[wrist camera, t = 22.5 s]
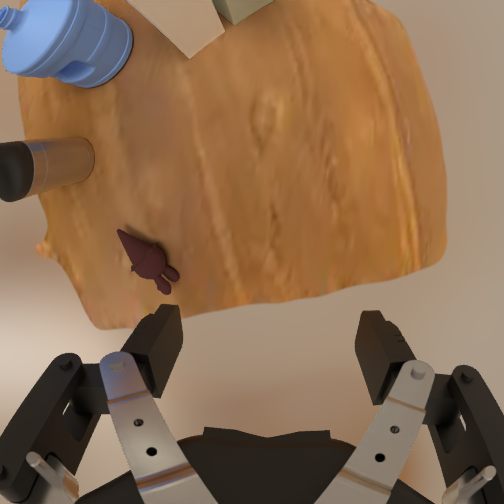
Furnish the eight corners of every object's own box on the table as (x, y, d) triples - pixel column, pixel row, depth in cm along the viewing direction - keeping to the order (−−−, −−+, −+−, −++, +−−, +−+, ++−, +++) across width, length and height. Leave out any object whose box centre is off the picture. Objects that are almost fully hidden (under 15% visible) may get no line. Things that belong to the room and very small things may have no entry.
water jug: (99, 13, 36) (13, -33, 10) (150, 32, 38) (62, -33, 12) (59, 74, 41) (-40, 59, 14) (104, 100, 43) (-9, 84, 17)
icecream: (98, 250, 47) (156, 306, 51) (115, 228, 43) (178, 291, 48) (118, 231, 52) (170, 283, 57) (136, 209, 49) (192, 267, 53)
